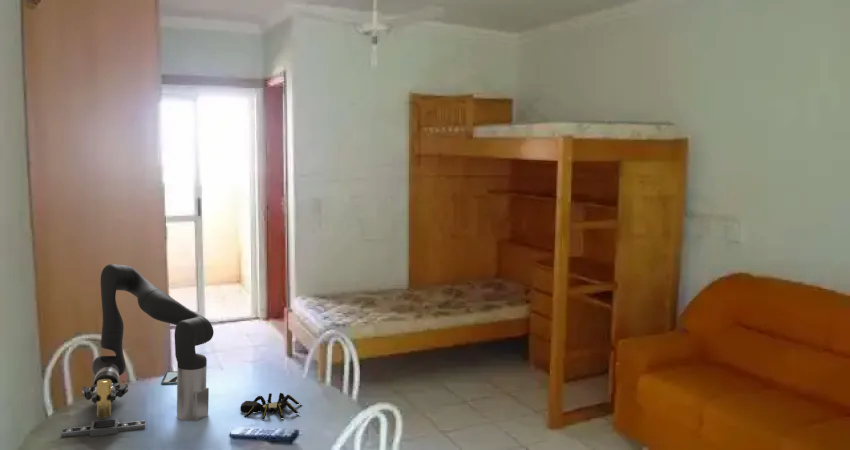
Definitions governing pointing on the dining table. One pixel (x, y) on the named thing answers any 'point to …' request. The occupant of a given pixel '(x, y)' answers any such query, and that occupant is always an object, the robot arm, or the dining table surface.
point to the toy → (268, 405)
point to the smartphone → (169, 378)
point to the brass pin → (103, 398)
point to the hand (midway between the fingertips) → (103, 399)
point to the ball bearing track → (103, 431)
